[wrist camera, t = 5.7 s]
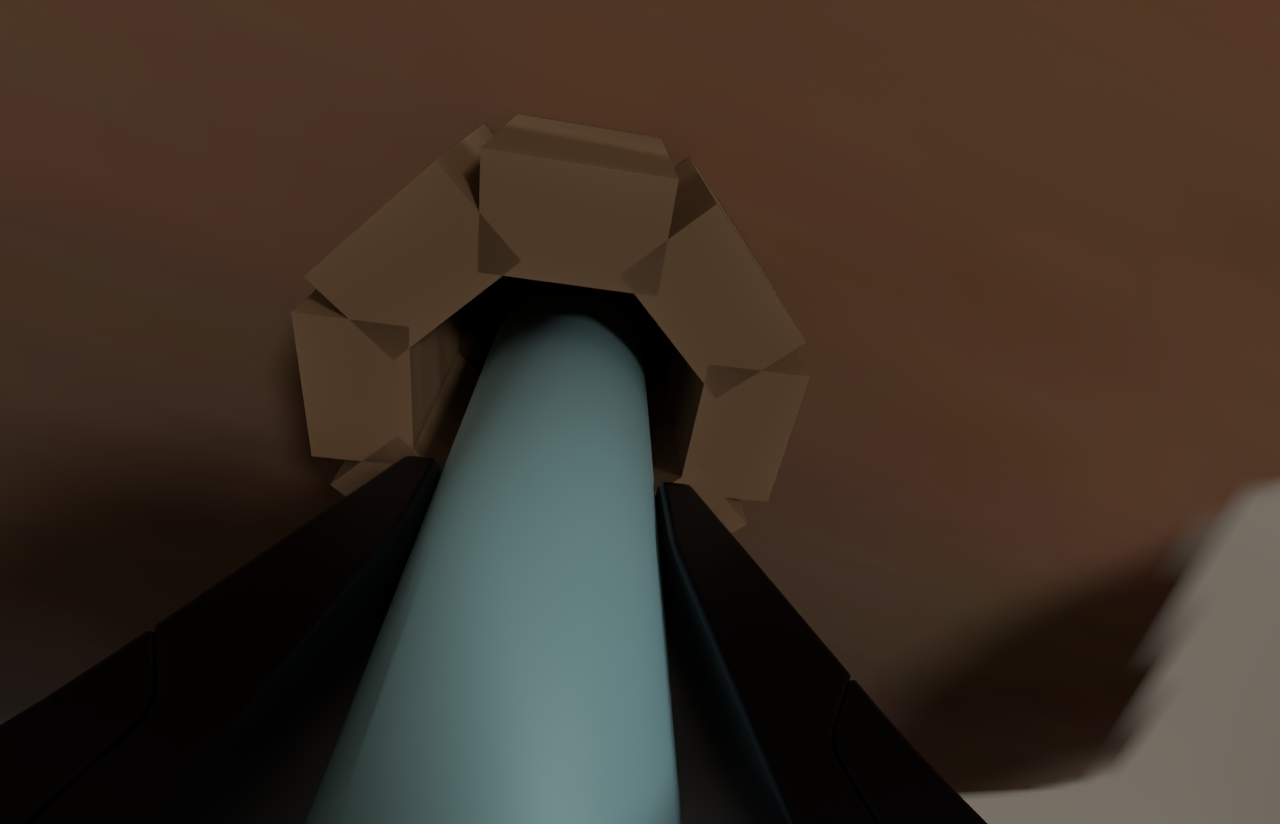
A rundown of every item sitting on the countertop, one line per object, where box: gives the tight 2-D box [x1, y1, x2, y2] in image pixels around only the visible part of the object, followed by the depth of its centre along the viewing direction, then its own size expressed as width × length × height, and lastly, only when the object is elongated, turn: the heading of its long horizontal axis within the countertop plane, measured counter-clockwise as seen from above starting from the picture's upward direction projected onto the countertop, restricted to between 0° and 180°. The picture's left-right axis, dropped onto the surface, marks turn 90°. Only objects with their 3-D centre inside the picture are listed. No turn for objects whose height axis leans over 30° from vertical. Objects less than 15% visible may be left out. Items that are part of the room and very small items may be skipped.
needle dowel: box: [305, 289, 683, 824], centre depth 7 cm, size 3×3×10 cm
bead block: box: [291, 114, 810, 533], centre depth 11 cm, size 8×8×4 cm
